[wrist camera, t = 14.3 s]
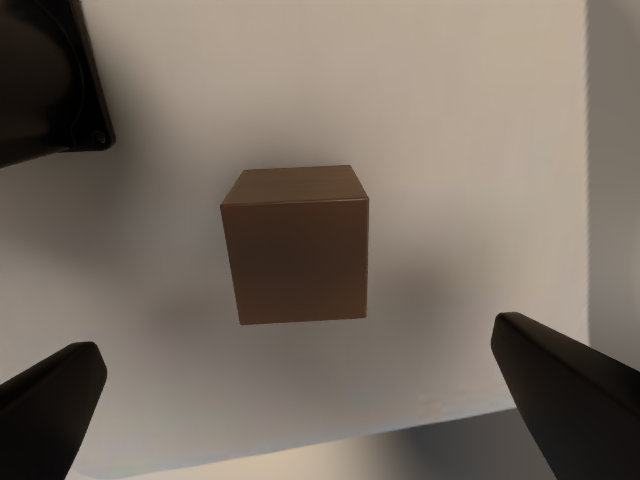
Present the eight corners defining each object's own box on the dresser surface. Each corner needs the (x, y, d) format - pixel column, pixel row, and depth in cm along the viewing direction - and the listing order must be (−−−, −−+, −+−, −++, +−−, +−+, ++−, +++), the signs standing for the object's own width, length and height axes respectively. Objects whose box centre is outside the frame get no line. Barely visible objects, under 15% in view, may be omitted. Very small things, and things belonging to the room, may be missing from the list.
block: (351, 259, 18) (366, 318, 14) (255, 264, 18) (240, 326, 13) (350, 164, 16) (369, 197, 11) (243, 170, 16) (219, 205, 11)
